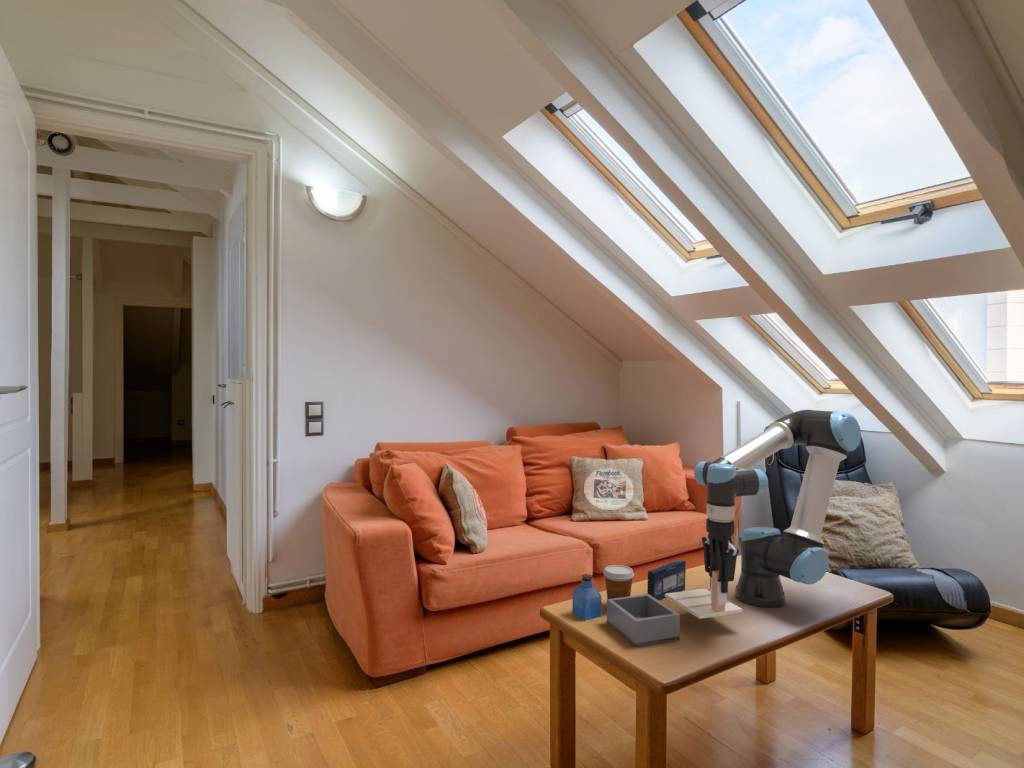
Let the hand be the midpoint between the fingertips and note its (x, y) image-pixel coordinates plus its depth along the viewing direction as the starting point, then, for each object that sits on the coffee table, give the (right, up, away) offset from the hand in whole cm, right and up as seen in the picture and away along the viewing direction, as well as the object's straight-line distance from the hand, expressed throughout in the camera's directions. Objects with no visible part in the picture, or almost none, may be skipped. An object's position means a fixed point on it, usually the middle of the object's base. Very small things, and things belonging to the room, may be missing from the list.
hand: (718, 601), depth 165 cm
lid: (-2, -3, +7) cm, 8 cm away
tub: (-21, -9, +1) cm, 23 cm away
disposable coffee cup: (-25, -9, +18) cm, 32 cm away
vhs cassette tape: (-7, -9, +28) cm, 31 cm away
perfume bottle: (-36, -9, +12) cm, 39 cm away
